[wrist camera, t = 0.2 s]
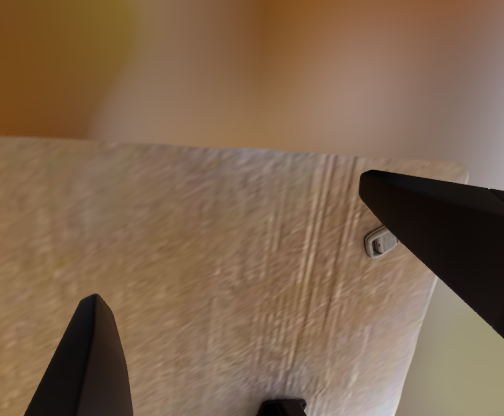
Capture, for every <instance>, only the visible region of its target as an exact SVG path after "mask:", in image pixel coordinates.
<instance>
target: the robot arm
mask: <svg viewBox="0 0 504 416" xmlns="http://www.w3.org/2000/svg"><path fill="white" fill-rule="evenodd" d="M359 196H360V198H361V199H362V201H363V202H364V203H365V204H366V205H367V206H368V208H369V209H370V210H371V211H372V212H373V213H374V214H375V216H376V217H377V218H378V219H379V220H380V221H381V223H382V224H383V225H384V226H385V227H386V228H387V229H388V230H389V231H390V232H391V233H392V234H393V235H394V236H395V237H396V238H397V239H398V240H399V241H400V242H401V243H403V244H404V245H405V246H406V247H407V248H408V249H409V250H410V251H411V252H412V253H413V254H414V255H415V256H416V257H417V258H419V259H420V260H421V261H422V262H423V263H424V264H425V265H426V266H427V267H428V268H429V269H430V270H431V271H432V272H433V273H435V274H436V275H437V276H438V277H439V278H440V279H441V280H442V281H443V282H444V283H445V284H446V285H447V286H448V287H450V288H451V289H452V290H453V291H454V292H455V293H456V294H457V295H458V296H459V297H460V298H461V299H462V300H463V301H464V302H465V303H467V304H468V305H469V306H470V307H471V308H472V309H473V310H474V311H475V312H477V314H478V315H479V316H480V317H482V318H483V319H484V320H485V321H486V322H487V323H488V324H489V325H490V326H492V328H493V329H494V330H495V331H496V332H497V333H498V334H499V335H501V336H502V337H503V338H504V191H502V190H496V189H488V188H483V187H477V186H471V185H465V184H459V183H453V182H446V181H440V180H434V179H428V178H422V177H416V176H410V175H404V174H397V173H391V172H385V171H379V170H369V171H366V172H364V173H362V174H361V176H360V183H359ZM306 405H307V403H306V401H305V400H304V399H301V400H271V401H265V402H263V404H262V406H261V408H260V410H259V412H258V414H257V416H306V414H305V412H304V409H305V407H306ZM24 416H133V408H132V400H131V393H130V385H129V377H128V370H127V364H126V360H125V356H124V352H123V349H122V345H121V341H120V337H119V333H118V330H117V326H116V322H115V318H114V315H113V313H112V311H111V309H110V308H109V306H108V305H107V304H106V303H105V301H104V300H103V299H102V298H101V296H100V295H98V294H92V295H90V296H88V297H86V298H83V299H82V300H81V301H80V303H79V305H78V307H77V309H76V311H75V313H74V315H73V317H72V319H71V321H70V323H69V325H68V327H67V329H66V331H65V333H64V335H63V337H62V339H61V341H60V343H59V345H58V347H57V349H56V351H55V353H54V355H53V357H52V359H51V361H50V363H49V365H48V367H47V369H46V371H45V374H44V376H43V378H42V380H41V382H40V384H39V386H38V388H37V390H36V392H35V394H34V396H33V398H32V400H31V402H30V404H29V406H28V408H27V410H26V412H25V414H24Z"/></svg>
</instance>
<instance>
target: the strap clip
mask: <svg viewBox="0 0 504 416" xmlns="http://www.w3.org/2000/svg"><path fill="white" fill-rule="evenodd" d="M373 240H374V242H375V248H376V250H375V251H373V249H372V241H373ZM397 243H398V239H397V238H396V237H395V236H394V235H393V234H392V233H391V232H390V231H389V230H388V229H387V228H386V227H385V226H382V227H381V228H379V229H377V230H375V231H373V232H371V233H370V234H369V235H368V236H367V237H366V239H365V244H366V250H367V254H368V256H369V257H370V258H377V257H380V256H382V255H384V254H385V253H387V252H388V251H390V250H391V249H393V248H394V247H396V245H397ZM402 244H403V243H402ZM403 245H404V244H403Z"/></svg>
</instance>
